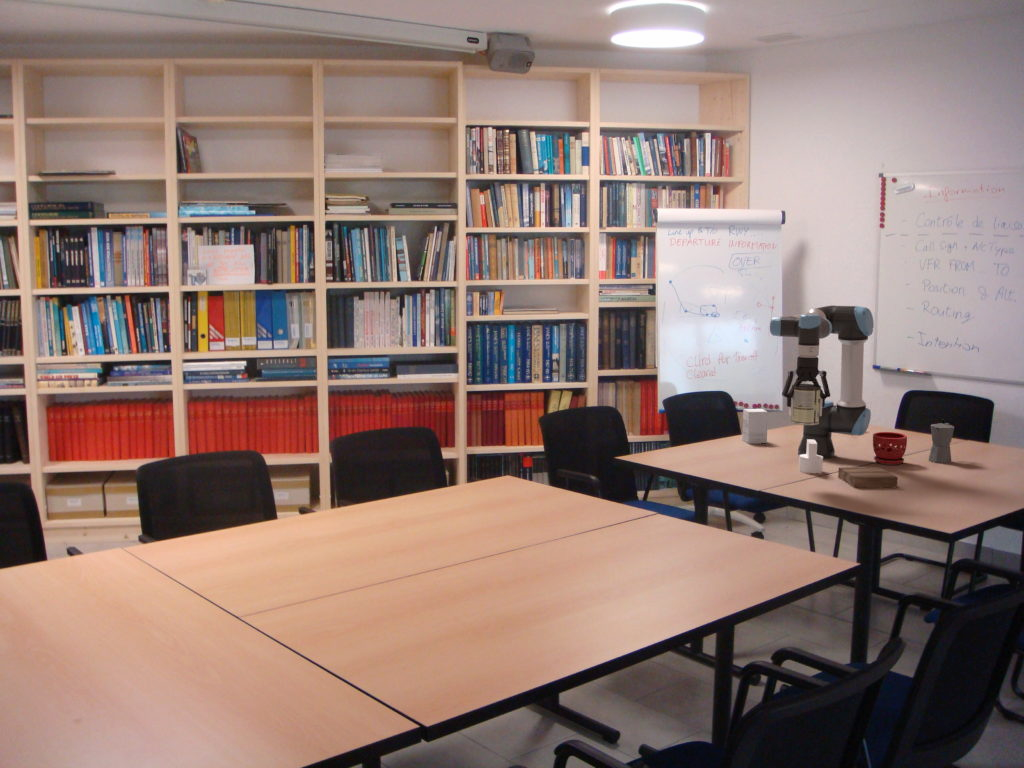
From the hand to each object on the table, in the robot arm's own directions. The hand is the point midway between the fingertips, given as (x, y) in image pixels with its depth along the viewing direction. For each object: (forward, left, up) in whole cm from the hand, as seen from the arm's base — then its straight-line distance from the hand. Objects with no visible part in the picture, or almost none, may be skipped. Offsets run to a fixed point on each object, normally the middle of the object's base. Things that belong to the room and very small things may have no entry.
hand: (805, 415), depth 349 cm
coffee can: (0, 0, -3) cm, 3 cm away
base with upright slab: (-19, +10, -26) cm, 33 cm away
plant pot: (-35, +48, -26) cm, 65 cm away
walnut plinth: (0, +25, -26) cm, 36 cm away
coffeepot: (-39, +72, -26) cm, 86 cm away
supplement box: (-78, +4, -26) cm, 82 cm away
